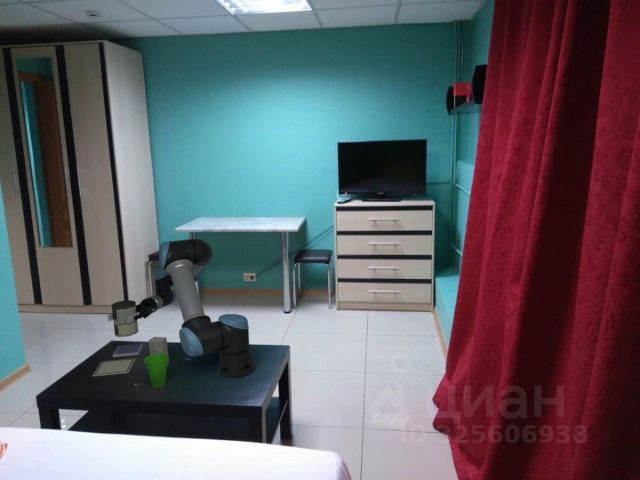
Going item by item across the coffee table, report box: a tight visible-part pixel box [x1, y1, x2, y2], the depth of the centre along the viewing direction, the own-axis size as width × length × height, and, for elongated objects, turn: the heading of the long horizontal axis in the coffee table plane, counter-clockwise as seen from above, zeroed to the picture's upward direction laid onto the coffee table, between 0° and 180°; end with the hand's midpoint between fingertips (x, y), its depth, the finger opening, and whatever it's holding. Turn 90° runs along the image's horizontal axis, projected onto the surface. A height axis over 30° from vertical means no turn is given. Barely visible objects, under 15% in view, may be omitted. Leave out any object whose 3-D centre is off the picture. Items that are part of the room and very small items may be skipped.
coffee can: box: [111, 299, 139, 338], centre depth 211 cm, size 10×10×14 cm
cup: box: [143, 354, 170, 389], centre depth 179 cm, size 9×9×11 cm
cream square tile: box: [92, 357, 136, 377], centre depth 196 cm, size 14×14×1 cm
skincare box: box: [148, 336, 170, 366], centre depth 196 cm, size 6×4×12 cm
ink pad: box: [112, 343, 144, 358], centre depth 213 cm, size 11×11×1 cm
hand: (118, 319), depth 207 cm, fingers closed on coffee can, 10 cm apart
